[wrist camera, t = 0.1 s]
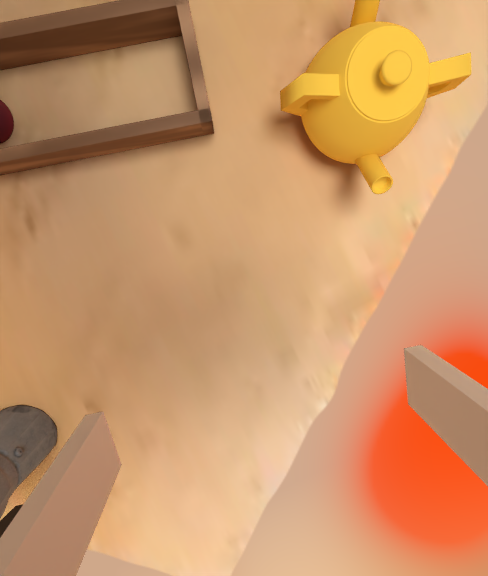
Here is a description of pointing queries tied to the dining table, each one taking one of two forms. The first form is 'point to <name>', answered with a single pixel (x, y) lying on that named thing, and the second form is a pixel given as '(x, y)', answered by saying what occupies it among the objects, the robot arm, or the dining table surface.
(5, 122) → the cup
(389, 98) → the teapot
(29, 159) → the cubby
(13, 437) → the moka pot
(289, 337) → the dining table surface
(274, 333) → the dining table surface
